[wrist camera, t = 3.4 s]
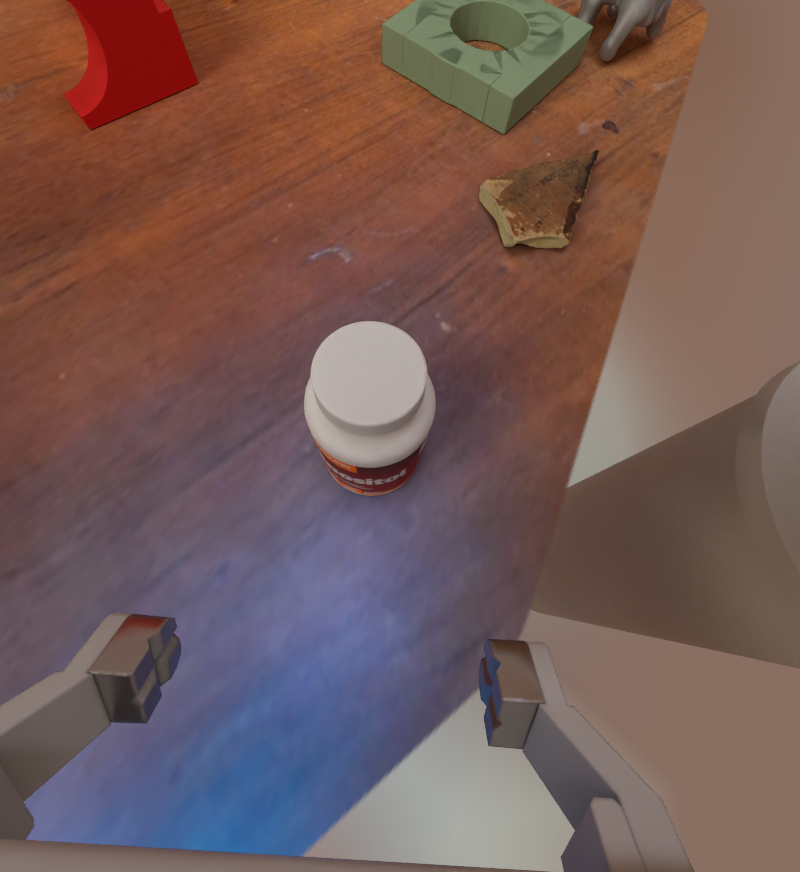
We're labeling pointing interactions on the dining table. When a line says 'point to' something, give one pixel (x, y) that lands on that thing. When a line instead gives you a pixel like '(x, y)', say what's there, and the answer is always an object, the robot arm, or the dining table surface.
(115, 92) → the bracket
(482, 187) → the shard
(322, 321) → the dining table surface
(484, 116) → the socket pad
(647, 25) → the gray elephant figurine
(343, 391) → the pill bottle
